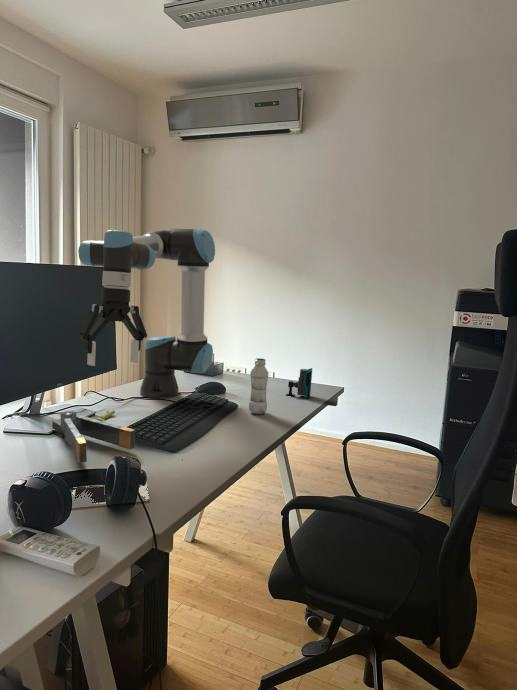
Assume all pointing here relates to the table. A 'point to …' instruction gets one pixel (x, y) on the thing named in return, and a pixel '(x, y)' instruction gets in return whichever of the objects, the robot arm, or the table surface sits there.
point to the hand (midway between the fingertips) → (113, 363)
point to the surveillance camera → (302, 383)
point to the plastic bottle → (258, 387)
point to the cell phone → (99, 493)
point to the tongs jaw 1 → (75, 440)
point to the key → (105, 416)
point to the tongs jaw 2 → (106, 432)
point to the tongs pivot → (59, 424)
